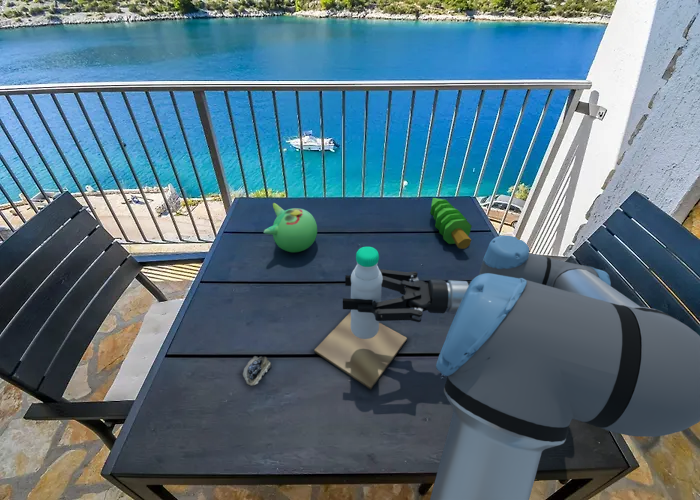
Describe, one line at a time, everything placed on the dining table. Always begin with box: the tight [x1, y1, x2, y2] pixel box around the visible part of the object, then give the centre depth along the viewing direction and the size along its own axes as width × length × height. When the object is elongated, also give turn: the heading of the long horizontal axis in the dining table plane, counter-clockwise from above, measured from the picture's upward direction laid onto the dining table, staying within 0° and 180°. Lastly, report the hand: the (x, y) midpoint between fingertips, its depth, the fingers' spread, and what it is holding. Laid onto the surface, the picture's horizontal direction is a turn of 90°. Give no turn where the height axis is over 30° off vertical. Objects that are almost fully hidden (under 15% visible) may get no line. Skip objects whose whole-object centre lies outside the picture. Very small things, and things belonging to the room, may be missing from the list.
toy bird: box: [263, 202, 318, 253], centre depth 124 cm, size 18×17×15 cm
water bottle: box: [350, 246, 383, 339], centre depth 80 cm, size 7×7×25 cm
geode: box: [242, 355, 272, 387], centre depth 88 cm, size 7×8×2 cm
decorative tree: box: [429, 197, 472, 250], centre depth 133 cm, size 11×12×30 cm
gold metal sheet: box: [313, 311, 408, 390], centre depth 94 cm, size 18×18×1 cm
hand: (344, 291), depth 80 cm, fingers closed on water bottle, 7 cm apart
